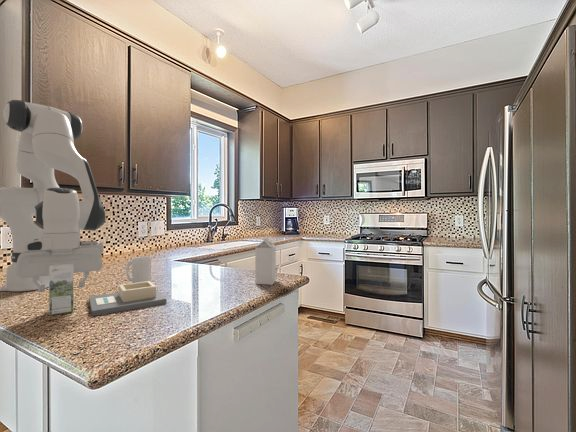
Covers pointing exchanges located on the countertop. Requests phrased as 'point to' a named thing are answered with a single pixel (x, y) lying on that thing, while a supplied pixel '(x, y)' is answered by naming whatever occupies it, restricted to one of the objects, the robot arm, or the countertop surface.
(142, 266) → the mug
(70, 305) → the syrup box
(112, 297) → the holder board
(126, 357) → the countertop surface
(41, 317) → the countertop surface
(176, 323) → the countertop surface
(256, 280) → the milk carton
